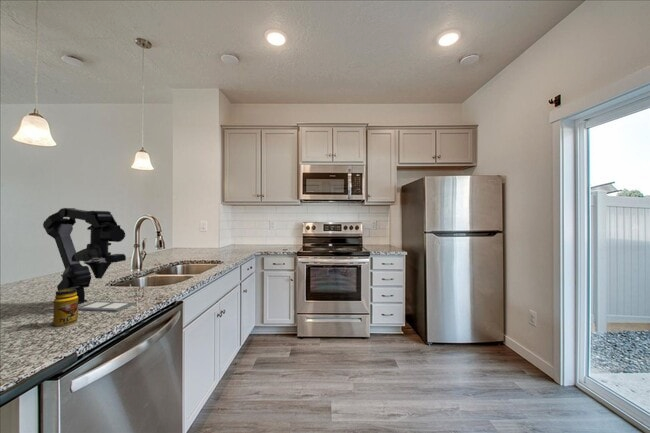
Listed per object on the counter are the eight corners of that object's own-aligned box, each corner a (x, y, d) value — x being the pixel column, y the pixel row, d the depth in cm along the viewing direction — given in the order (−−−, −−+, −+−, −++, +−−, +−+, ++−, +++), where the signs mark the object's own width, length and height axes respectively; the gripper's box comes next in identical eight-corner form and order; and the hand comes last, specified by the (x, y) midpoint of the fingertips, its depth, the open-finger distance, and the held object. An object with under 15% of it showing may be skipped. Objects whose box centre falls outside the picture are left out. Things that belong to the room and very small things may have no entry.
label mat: (74, 310, 102) (74, 308, 102) (95, 302, 111) (95, 300, 111) (117, 311, 102) (117, 309, 102) (135, 304, 111) (135, 302, 111)
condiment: (72, 326, 88) (73, 291, 88) (39, 330, 85) (40, 294, 85) (83, 318, 94) (84, 286, 94) (53, 321, 91) (54, 288, 91)
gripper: (57, 242, 99) (56, 282, 99) (103, 243, 98) (102, 284, 98) (85, 239, 110) (84, 275, 110) (127, 240, 109) (126, 277, 109)
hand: (98, 278), depth 106 cm, fingers closed
